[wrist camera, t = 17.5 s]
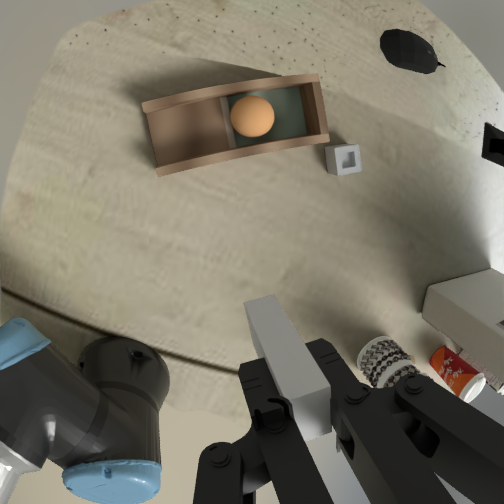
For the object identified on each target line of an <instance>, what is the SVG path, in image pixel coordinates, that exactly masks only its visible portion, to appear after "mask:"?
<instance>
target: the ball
mask: <svg viewBox="0 0 504 504" xmlns="http://www.w3.org/2000/svg"><path fill="white" fill-rule="evenodd" d="M230 117H231V123H232V125H233V127H234V129H235V130H236V131H237V132H238V133H240V134H241V135H243V136H246V137H259V136H262V135H264V134H265V133H267V132H268V131H269V130H270V128H271V127H272V125H273V123H274V111H273V108H272V106H271V105H270V103H269V102H268V101H267V100H265V99H264V98H262V97H259V96H253V95H251V96H246V97H243V98H241V99H240V100H238V101H237V102H236V103H235V104H234V106H233V108H232V110H231V115H230Z"/></svg>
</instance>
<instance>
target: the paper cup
mask: <svg viewBox="0 0 504 504" xmlns="http://www.w3.org/2000/svg"><path fill="white" fill-rule="evenodd" d="M430 364H431V366H432V367H433V368H434V370H435V371H436V372H437V373H438V374H439V376H440V377H441V378H442V379H443V380H444V381H445V383H446V384H447V385H448V386H449V387H450V388H451V390H452V391H453V392H454V393H455V394H456V395H457V397H459V398H460V399H462V400H463V401H465V402H466V403H468V402H470V401H472V400H473V399H474V398H475V397H476V396H477V395H478V394H479V393H480V392H481V390H482V389H483V387H484V385H485V383H486V378H485V377H484V374H483V373H480V372H478V371H477V370H476V369H475V368H473V367H472V366H471V365H470V364H468V363H467V362H466V361H464V360H463V359H462V358H461V357H459V356H458V355H457V354H455V353H454V352H453V351H451V350H450V349H449V348H447V347H445V346H443V347H441V348H439V349H438V350H437V351H436V352H435V353H434V354H433V356H432V357H431V360H430Z"/></svg>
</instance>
